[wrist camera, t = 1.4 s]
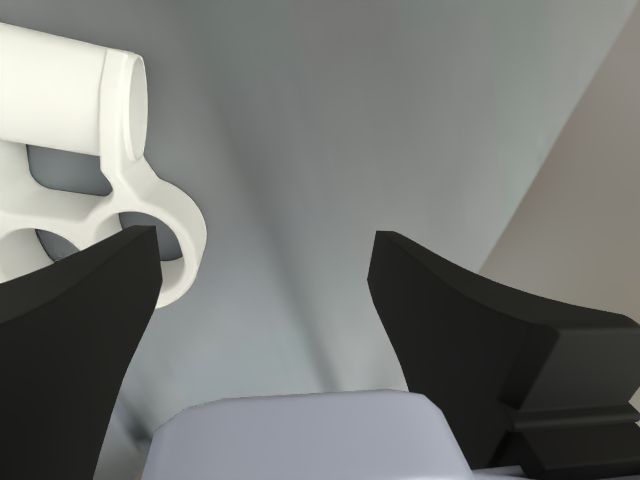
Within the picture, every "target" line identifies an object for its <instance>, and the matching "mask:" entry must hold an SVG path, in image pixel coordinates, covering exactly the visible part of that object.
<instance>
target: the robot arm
mask: <svg viewBox="0 0 640 480" xmlns="http://www.w3.org/2000/svg"><path fill="white" fill-rule="evenodd" d="M367 281H368V285H369V289H370V293H371V297H372V300H373V303H374V306H375V308H376V310H377V313H378V315H379V317H380V319H381V322H382V324H383V326H384V328H385V330H386V333H387V335H388V337H389V339H390V342H391V344H392V346H393V348H394V350H395V353H396V355H397V357H398V360H399V362H400V365H401V368H402V371H403V374H404V377H405V380H406V383H407V386H408V389H409V392H405V391H398V390H391V389H379V390H361V391H344V392H327V393H310V394H292V395H275V396H258V397H240V398H225V399H221V400H216V401H212V402H208V403H204V404H199V405H195V406H191V407H188V408H186V409H183V410H182V411H181V412H179V413H178V414H177V415H175V416H174V417H173V418H171V419H170V420H169V421H167V422H166V423H165V424H163V425H162V426H161V427H159V428H158V429H157V430H155V433H154V437H153V440H152V444H151V447H150V451H149V454H148V458H147V461H146V465H145V468H144V471H143V475H142V478H141V480H640V427H639V426H638V425H637V424H636V423H635V422H638V421H639V420H640V413H639V412H638V411H637V410H636V409H635V408H634V407H633V406H632V405H631V404H630V403H629V402H628V401H629V400H630V399H631V397H632V396H633V395H634V393H635V392H636V391H637V389H638V388H639V387H640V325H639V324H638V323H637V322H635V321H634V320H632V319H631V318H629V317H627V316H625V315H622V314H616V313H612V312H606V311H601V310H596V309H591V308H586V307H581V306H576V305H571V304H567V303H563V302H559V301H556V300H552V299H547V298H544V297H540V296H537V295H533V294H530V293H527V292H523V291H521V290H518V289H515V288H512V287H508V286H506V285H503V284H500V283H497V282H494V281H492V280H490V279H487V278H485V277H482V276H480V275H478V274H475V273H473V272H471V271H469V270H466V269H464V268H462V267H460V266H458V265H456V264H454V263H452V262H450V261H448V260H446V259H444V258H443V257H441V256H439V255H437V254H435V253H433V252H432V251H430V250H428V249H426V248H425V247H423V246H421V245H419V244H418V243H416V242H414V241H412V240H411V239H409V238H407V237H405V236H403V235H401V234H399V233H397V232H394V231H376V235H375V241H374V246H373V251H372V257H371V262H370V267H369V273H368V278H367ZM162 282H163V277H162V270H161V262H160V255H159V248H158V241H157V233H156V226H141V225H134V226H131V227H129V228H126V229H124V230H122V231H120V232H118V233H116V234H114V235H112V236H110V237H108V238H106V239H104V240H102V241H100V242H98V243H96V244H94V245H92V246H90V247H88V248H86V249H84V250H82V251H79V252H77V253H75V254H73V255H71V256H68V257H66V258H64V259H62V260H60V261H58V262H55V263H53V264H51V265H49V266H46V267H44V268H41V269H39V270H36V271H34V272H31V273H29V274H26V275H23V276H20V277H18V278H15V279H12V280H9V281H6V282H3V283H0V480H93V476H94V472H95V469H96V465H97V462H98V458H99V454H100V451H101V447H102V444H103V441H104V437H105V434H106V431H107V427H108V424H109V421H110V418H111V414H112V411H113V408H114V405H115V402H116V399H117V396H118V393H119V390H120V387H121V384H122V381H123V378H124V376H125V373H126V371H127V368H128V366H129V364H130V361H131V359H132V357H133V355H134V353H135V351H136V349H137V346H138V344H139V342H140V340H141V338H142V336H143V333H144V331H145V329H146V327H147V325H148V323H149V320H150V318H151V316H152V314H153V311H154V309H155V307H156V304H157V300H158V297H159V294H160V290H161V286H162Z"/></svg>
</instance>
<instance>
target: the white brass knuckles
mask: <svg viewBox="0 0 640 480" xmlns="http://www.w3.org/2000/svg"><path fill="white" fill-rule="evenodd" d="M147 116H148V96H147V81H146V73H145V66H144V61H143V59H142V57H141V56H140V55H137V54H134V53H133V52H129V51H125V50H120V49H112V48H108V47H104V46H99V45H95V44H91V43H87V42H82V41H78V40H74V39H70V38H65V37H61V36H57V35H53V34H48V33H44V32H40V31H36V30H31V29H27V28H23V27H19V26H14V25H10V24H6V23H2V22H0V283H3V282H6V281H9V280H12V279H15V278H18V277H20V276H23V275H26V274H29V273H31V272H34V271H36V270H39V269H41V268H44V267H46V266H49V265H51V264H53V263H54V262H53V261H52V260H51V259H50V258H49V257H48V255H47V254H46V252H45V251H44V249H43V247H42V245H41V243H40V241H39V239H38V237H37V235H36V232H35V229H42V230H46V231H50V232H53V233H55V234H58V235H60V236H62V237H64V238H65V239H67V240H68V241H70V242H71V243H72V244H74V245H75V246H76V247H77V248H78V249H79V250H80V251H82V250H84V249H86V248H88V247H90V246H92V245H94V244H96V243H98V242H100V241H102V240H104V239H106V238H108V237H110V236H112V235H114V234H116V233H118V232H120V231H122V230H123V229H122V227H121V224H120V221H119V213H120V212H127V211H135V212H142V213H146V214H149V215H152V216H154V217H156V218H158V219H160V220H161V221H163V222H164V223H165V224H167V225H168V226H169V227H170V228H171V229H172V230H173V232H174V233H175V235H176V236H177V238H178V241H179V244H180V247H181V251H182V254H183V257H181V258H179V259H176V260H172V261H160V262H161V270H162V277H163V282H162V286H161V290H160V294H159V297H158V300H157V304H156V307H155V309H157V308H160V307H163V306H166V305H168V304H170V303H172V302H174V301H175V300H177V299H178V298H180V297H181V296H182V295H183V294H184V293H185V292H186V291H187V290H188V289H189V288H190V286H191V285H192V283H193V282H194V280H195V277H196V275H197V272H198V268H199V265H200V262H201V258H202V255H203V252H204V249H205V245H206V239H207V231H206V225H205V221H204V218H203V216H202V214H201V212H200V210H199V208H198V207H197V205H196V204H195V203H194V201H193V200H192V199H191V198H190V197H189V196H188V195H187V194H185V193H184V192H183V191H182V190H180V189H179V188H177V187H176V186H174V185H172V184H170V183H168V182H166V181H163V180H161V179H159V178H158V177H157V176H156V174H155V173H154V171H153V170H152V168H151V167H150V166H149V164H148V163H147V161H146V160H145V158H144V156H143V152H144V147H145V140H146V131H147ZM26 144H30V145H36V146H42V147H48V148H54V149H60V150H65V151H71V152H77V153H83V154H89V155H95V156H100V169H101V171H102V173H103V174H104V175H105V177H106V178H107V179H108V180H109V182H110V183H111V185H112V188H113V191H112V192H111V193H110V194H109V195H108V196H104V197H102V196H94V195H88V194H81V193H74V192H67V191H60V190H53V189H48V188H46V187H43V186H42V185H40V184H39V183H37V182H36V181H35V180H34V178H33V177H32V175H31V173H30V170H29V163H28V156H27V149H26Z"/></svg>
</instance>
